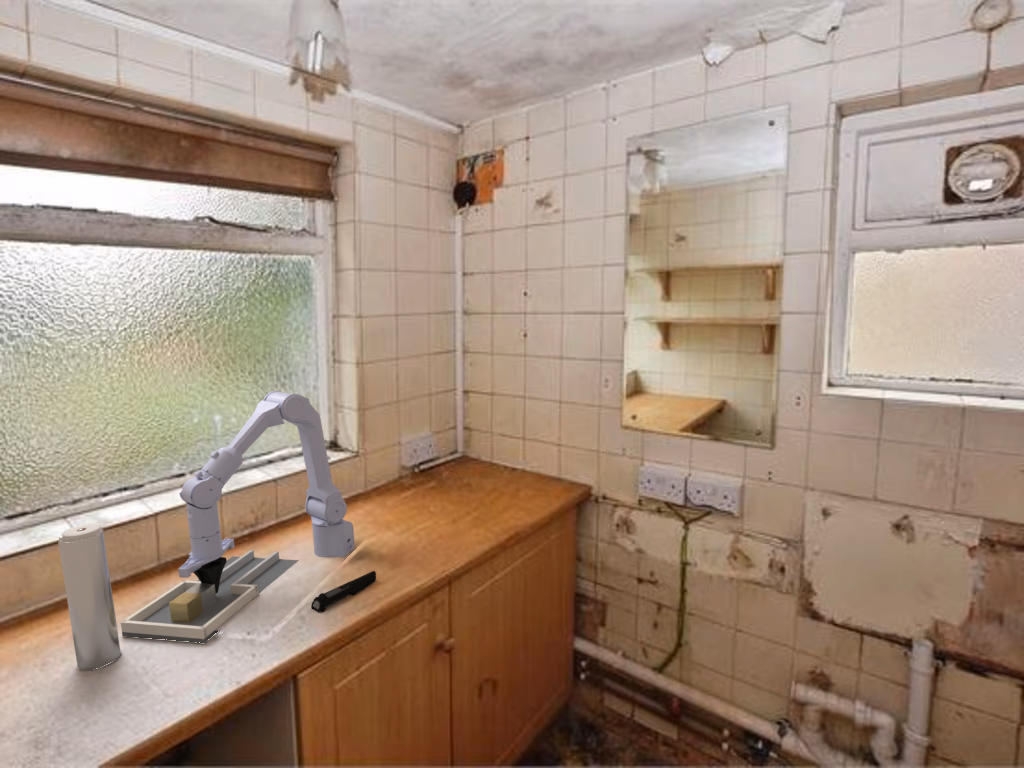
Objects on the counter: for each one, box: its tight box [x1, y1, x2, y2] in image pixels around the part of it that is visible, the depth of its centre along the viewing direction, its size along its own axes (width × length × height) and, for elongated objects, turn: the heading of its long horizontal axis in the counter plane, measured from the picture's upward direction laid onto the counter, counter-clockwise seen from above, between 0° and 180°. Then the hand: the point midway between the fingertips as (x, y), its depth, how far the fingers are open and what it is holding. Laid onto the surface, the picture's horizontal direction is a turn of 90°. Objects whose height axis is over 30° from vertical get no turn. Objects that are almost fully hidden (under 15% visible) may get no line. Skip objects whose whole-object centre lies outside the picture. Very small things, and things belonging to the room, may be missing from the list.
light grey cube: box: [184, 583, 216, 612], centre depth 119 cm, size 4×4×4 cm
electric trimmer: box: [310, 570, 377, 613], centre depth 124 cm, size 4×16×3 cm, turn 141°
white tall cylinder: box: [57, 523, 122, 671], centre depth 102 cm, size 6×6×25 cm
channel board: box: [120, 549, 299, 644], centre depth 125 cm, size 18×33×3 cm, turn 170°
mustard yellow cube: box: [169, 593, 203, 623], centre depth 115 cm, size 4×4×4 cm
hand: (212, 593), depth 123 cm, fingers closed
